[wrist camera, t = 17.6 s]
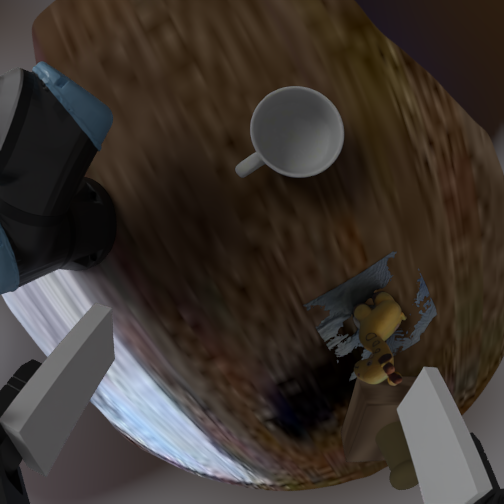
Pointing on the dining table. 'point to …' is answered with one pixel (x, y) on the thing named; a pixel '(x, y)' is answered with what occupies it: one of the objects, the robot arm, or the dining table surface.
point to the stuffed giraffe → (370, 322)
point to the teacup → (294, 133)
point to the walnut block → (371, 417)
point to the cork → (397, 456)
